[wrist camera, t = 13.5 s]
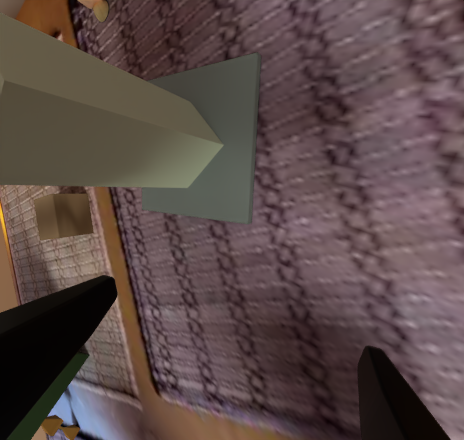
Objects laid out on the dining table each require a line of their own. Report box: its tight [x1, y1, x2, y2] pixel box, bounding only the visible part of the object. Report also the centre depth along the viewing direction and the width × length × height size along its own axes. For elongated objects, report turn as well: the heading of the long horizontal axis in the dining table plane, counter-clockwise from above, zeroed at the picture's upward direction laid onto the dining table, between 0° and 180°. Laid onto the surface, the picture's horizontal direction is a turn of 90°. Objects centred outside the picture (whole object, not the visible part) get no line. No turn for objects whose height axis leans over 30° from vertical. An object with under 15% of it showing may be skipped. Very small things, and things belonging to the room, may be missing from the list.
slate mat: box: [142, 52, 261, 224], centre depth 21 cm, size 12×12×1 cm
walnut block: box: [34, 194, 94, 240], centre depth 31 cm, size 5×5×4 cm
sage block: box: [0, 13, 224, 188], centre depth 15 cm, size 5×5×13 cm
